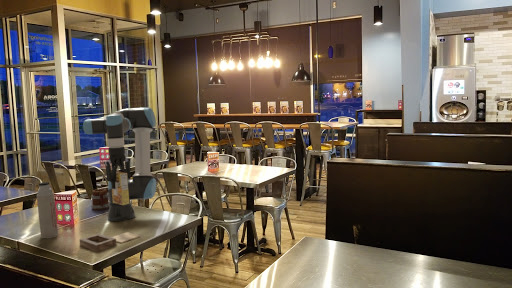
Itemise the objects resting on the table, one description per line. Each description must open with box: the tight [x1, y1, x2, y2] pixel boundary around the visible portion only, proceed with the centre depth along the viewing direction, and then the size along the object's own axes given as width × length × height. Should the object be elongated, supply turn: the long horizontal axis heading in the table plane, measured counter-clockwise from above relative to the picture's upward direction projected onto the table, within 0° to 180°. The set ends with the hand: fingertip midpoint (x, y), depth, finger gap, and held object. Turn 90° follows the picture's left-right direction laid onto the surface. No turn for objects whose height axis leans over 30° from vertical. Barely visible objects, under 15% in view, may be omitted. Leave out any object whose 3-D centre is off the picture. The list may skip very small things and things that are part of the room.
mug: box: [90, 188, 110, 211], centre depth 270 cm, size 12×14×15 cm
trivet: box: [110, 231, 141, 244], centre depth 209 cm, size 11×11×1 cm
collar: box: [79, 233, 117, 253], centre depth 200 cm, size 10×15×3 cm, turn 51°
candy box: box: [112, 171, 129, 205], centre depth 206 cm, size 9×4×15 cm, turn 50°
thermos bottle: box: [36, 181, 59, 239], centre depth 217 cm, size 8×8×28 cm
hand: (120, 194), depth 207 cm, fingers closed on candy box, 4 cm apart
